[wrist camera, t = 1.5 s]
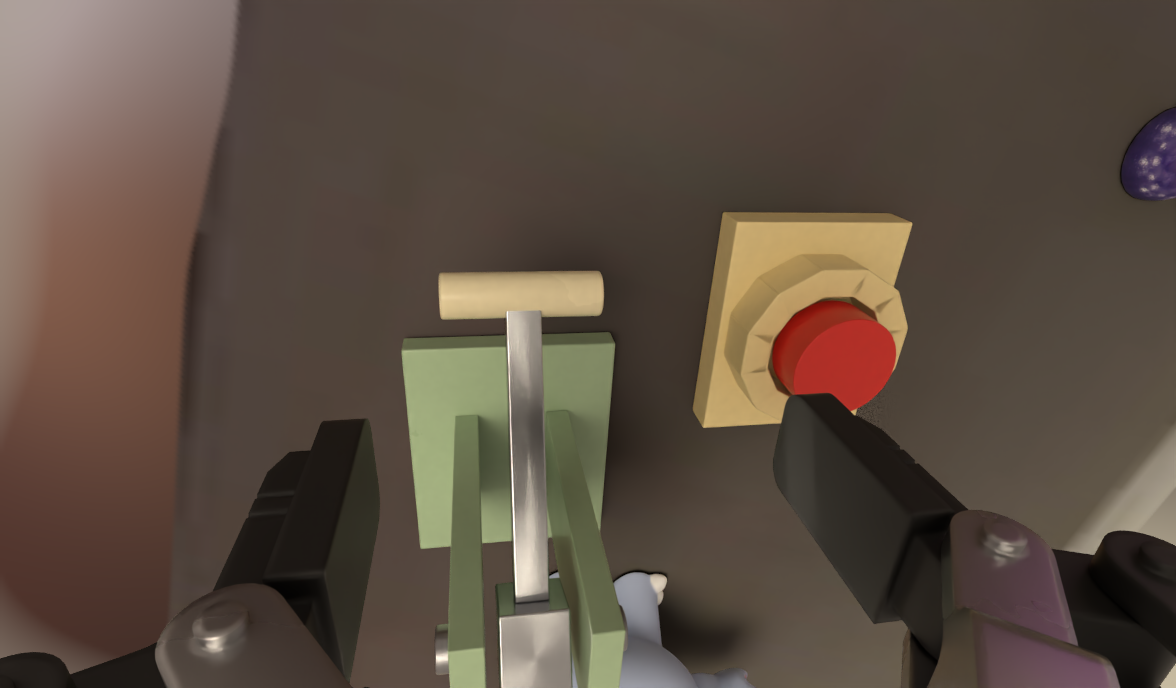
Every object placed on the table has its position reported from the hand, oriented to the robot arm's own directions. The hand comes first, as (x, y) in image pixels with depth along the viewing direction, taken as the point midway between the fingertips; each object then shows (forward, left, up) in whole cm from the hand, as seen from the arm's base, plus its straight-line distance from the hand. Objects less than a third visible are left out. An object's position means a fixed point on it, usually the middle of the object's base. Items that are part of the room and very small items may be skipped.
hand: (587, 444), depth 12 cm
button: (+4, +12, -12) cm, 17 cm away
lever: (+6, -1, -7) cm, 9 cm away
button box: (+4, +12, -15) cm, 20 cm away
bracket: (+10, -1, -15) cm, 18 cm away
